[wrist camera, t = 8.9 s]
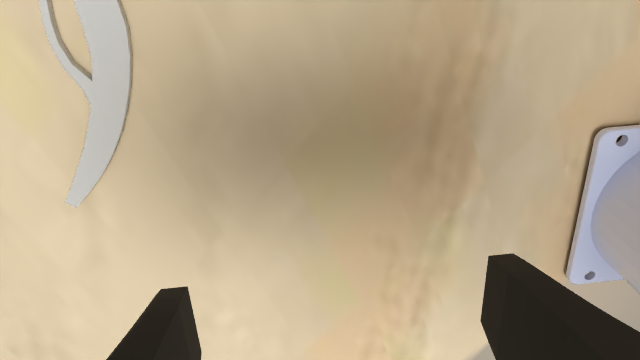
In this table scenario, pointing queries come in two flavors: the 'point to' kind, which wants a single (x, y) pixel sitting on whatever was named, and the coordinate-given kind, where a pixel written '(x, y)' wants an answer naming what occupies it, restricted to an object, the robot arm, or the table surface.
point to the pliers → (97, 83)
